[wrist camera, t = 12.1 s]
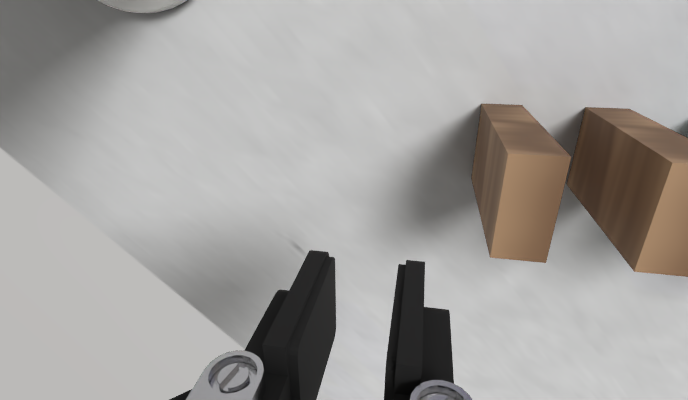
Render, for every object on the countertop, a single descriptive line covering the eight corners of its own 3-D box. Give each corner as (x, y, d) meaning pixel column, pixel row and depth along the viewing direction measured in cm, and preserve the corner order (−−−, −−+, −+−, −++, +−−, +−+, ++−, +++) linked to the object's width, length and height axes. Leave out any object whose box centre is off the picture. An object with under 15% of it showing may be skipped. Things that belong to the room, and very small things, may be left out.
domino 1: (471, 178, 28) (490, 257, 19) (481, 103, 26) (508, 153, 17) (508, 180, 27) (545, 262, 18) (522, 105, 25) (571, 157, 16)
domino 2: (566, 184, 27) (634, 271, 18) (585, 107, 25) (672, 162, 16) (607, 186, 26) (696, 277, 17) (629, 108, 24) (744, 166, 15)
